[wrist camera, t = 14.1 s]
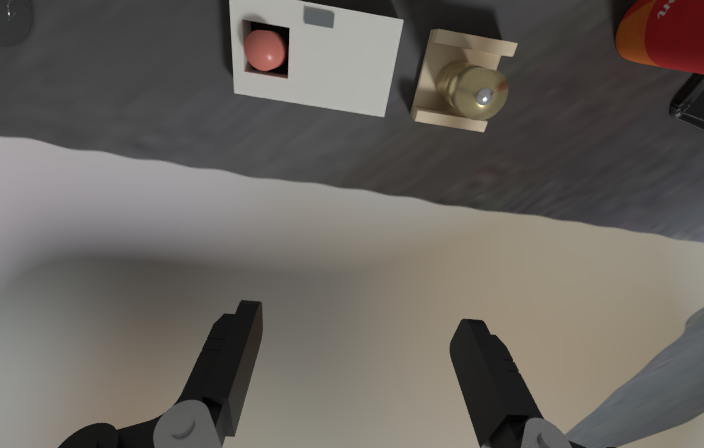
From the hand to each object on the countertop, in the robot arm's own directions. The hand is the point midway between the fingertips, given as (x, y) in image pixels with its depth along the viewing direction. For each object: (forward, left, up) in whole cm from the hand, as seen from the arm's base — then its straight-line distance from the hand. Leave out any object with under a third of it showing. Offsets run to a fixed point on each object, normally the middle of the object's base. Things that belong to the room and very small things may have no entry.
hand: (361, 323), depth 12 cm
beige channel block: (+9, +7, -25) cm, 27 cm away
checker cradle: (-5, +7, -25) cm, 27 cm away
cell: (+8, +7, -24) cm, 27 cm away
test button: (-9, +7, -25) cm, 27 cm away
